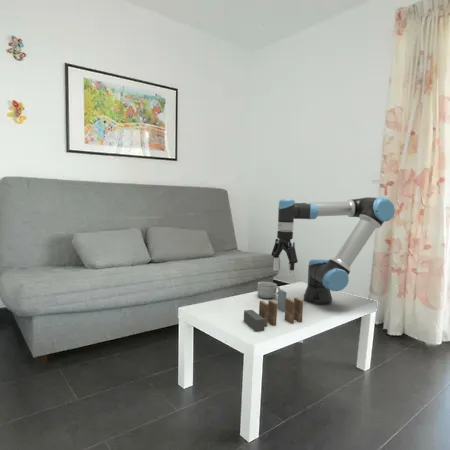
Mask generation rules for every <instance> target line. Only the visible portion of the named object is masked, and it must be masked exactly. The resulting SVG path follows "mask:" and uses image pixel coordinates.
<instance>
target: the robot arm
mask: <svg viewBox="0 0 450 450" xmlns="http://www.w3.org/2000/svg"><path fill="white" fill-rule="evenodd" d="M395 209H396V208H395V205H394V202H393V201H392V200H390V199H389V198H387V197H383V196H379V197H361V198H355V199H354V198H353V199H352V198H351V199H348V200H347V201H324V202H323V201H322V202H321V201H319V202H318V201H317V202H296V201H295V199H291V198H290V199H289V198H288V199H287V198H282V199H281V198H280V200H279V202H278V212H277V213H278V216H277V233H276V235H277V236H276V238H275V240H274V241H275V242H274V245H273V249H272V252H271V256H272V257H273V268H272V269H273V271H276V272H277V271H280V270H279V268H280V255H281V254H282V251H284V252H285V253H286V256H287V259H288V265H287V266H288V267H287V277H288V278H293V277H294V272H295V265H296V264H297V263H298V257H297V252H296V245H295V241H294V242H291V240H292V239H293V238H294V232H293V231H294V224H295V223H294V219H295V220H316V219H317V218H318V217H337V216H340V217H341V216H348V218H359V221H358V223H357V224H356V225H355V226H354V228H353V229H352V231H351V232H350V234H349V236H348V237H347V238H346V240H345V241H344V243H343V244H342V246H341V247H340V249H339V251H338V252H337V253H336V255H335V256H334V257H333V258H330V259H316V258H315V259H310V260H309V262H308V266H307V267H308V271H307V286H306V289H305V291H304V294H303V302H305V303H309V304H312V305H319V306H325V305H326V306H327V305H332V303H333V297H332V294H331V291H332V292H341V291H342V290H344V289H345V288H346V287H348V284H349V282H350V279H349V278H350V277H349V275H350V273H351V268H350V267H351V266H352V264H353V263H354V262H355V260H356V259H357V257H358V255H359V254H360V253H361V251H362V249H363V248H364V247H365V245H366V244H367V242H368V241H369V239H370V237H371V236H372V235H373V233H374V232H375V230H376V229H380V228H381V227H382V226H383V224H384V223H385V222H388V221H390V220H391V219H393V217H394V216H395Z"/></svg>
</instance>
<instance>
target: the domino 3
mask: <svg viewBox="0 0 450 450" xmlns="http://www.w3.org/2000/svg"><path fill="white" fill-rule="evenodd" d="M277 290H278V289H277ZM277 292H278V294H277V311H278V310H279V311H280V312H282V313H285V302H286V298H287V291H285V290H283V289H281V288H280V289H279V290H278V291H277Z"/></svg>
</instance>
